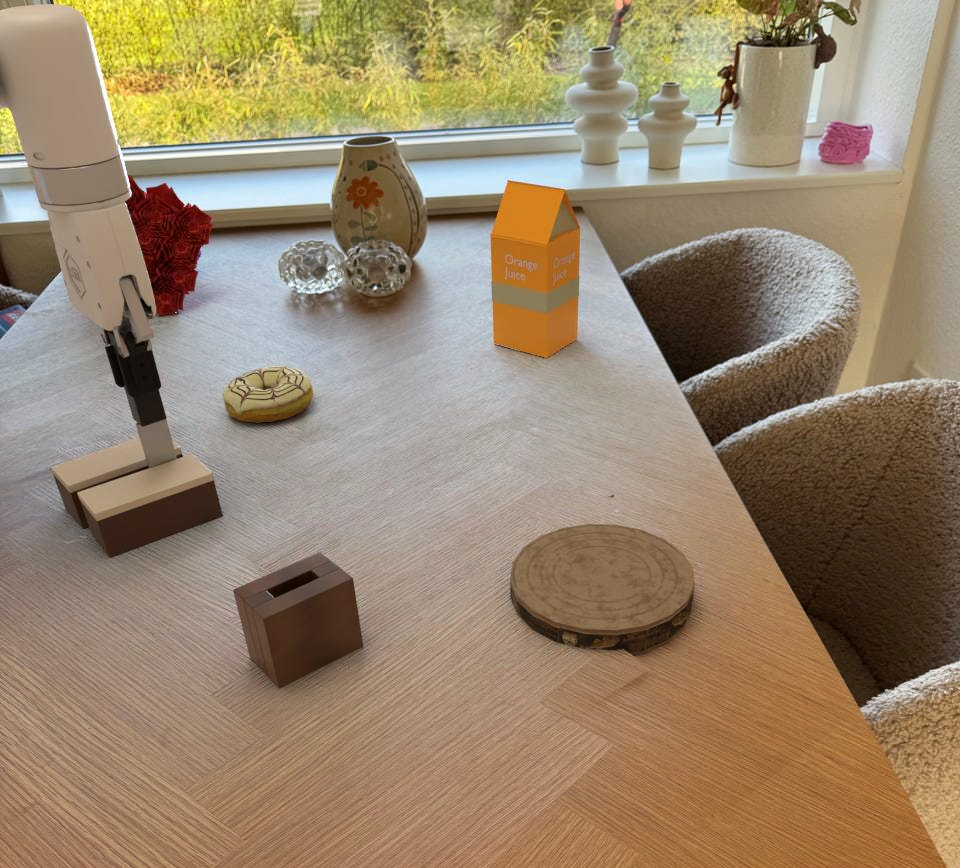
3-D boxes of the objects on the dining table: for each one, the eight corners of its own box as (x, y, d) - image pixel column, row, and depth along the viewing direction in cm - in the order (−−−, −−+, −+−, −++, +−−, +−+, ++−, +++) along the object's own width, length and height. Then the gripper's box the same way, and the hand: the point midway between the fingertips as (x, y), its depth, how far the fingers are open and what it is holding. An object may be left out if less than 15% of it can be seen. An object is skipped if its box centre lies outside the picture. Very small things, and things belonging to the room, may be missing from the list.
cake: (83, 529, 97) (67, 486, 94) (65, 508, 101) (50, 466, 97) (191, 488, 103) (180, 446, 100) (171, 470, 106) (160, 429, 103)
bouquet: (209, 288, 170) (233, 305, 145) (113, 304, 166) (121, 324, 140) (179, 166, 161) (200, 161, 136) (78, 179, 157) (79, 177, 131)
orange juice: (546, 358, 126) (547, 196, 113) (492, 344, 130) (487, 187, 117) (578, 339, 130) (583, 181, 118) (525, 326, 135) (524, 172, 122)
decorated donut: (220, 399, 120) (213, 371, 118) (303, 383, 123) (298, 355, 120) (235, 434, 112) (228, 404, 110) (323, 416, 115) (319, 386, 113)
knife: (163, 507, 99) (114, 338, 87) (154, 499, 100) (104, 331, 89) (190, 497, 100) (145, 329, 89) (181, 489, 101) (135, 322, 90)
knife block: (281, 697, 76) (263, 619, 71) (251, 666, 80) (232, 589, 75) (365, 655, 80) (353, 577, 75) (333, 627, 83) (320, 551, 78)
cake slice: (109, 558, 93) (94, 514, 90) (92, 535, 96) (76, 492, 93) (223, 515, 98) (212, 473, 95) (202, 495, 102) (192, 453, 98)
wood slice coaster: (729, 604, 84) (734, 576, 82) (599, 685, 76) (600, 657, 74) (601, 531, 93) (602, 505, 91) (474, 596, 86) (472, 569, 84)
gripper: (6, 173, 83) (71, 373, 95) (71, 210, 74) (135, 428, 85) (89, 158, 87) (142, 352, 99) (162, 190, 77) (212, 402, 89)
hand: (138, 386), depth 92 cm, fingers closed on knife, 2 cm apart
